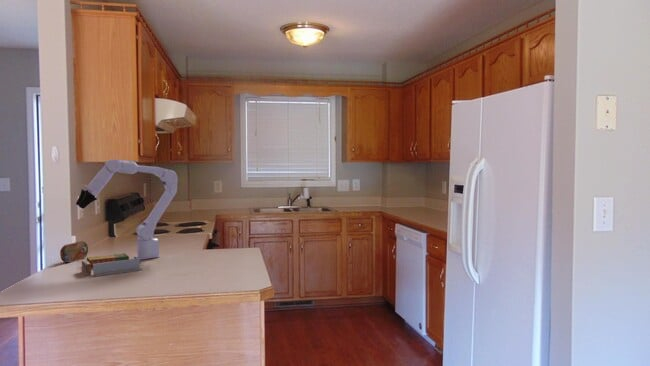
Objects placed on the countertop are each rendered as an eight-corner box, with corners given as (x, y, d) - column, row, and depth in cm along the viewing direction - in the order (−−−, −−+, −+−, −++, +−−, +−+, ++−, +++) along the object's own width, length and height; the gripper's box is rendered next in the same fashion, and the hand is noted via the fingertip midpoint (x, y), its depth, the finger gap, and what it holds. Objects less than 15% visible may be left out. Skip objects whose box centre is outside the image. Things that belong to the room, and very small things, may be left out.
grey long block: (139, 268, 195) (139, 258, 195) (141, 269, 192) (141, 259, 192) (93, 275, 184) (93, 264, 184) (95, 276, 181) (94, 265, 181)
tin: (65, 264, 203) (64, 245, 203) (59, 264, 204) (58, 245, 203) (88, 257, 218) (88, 239, 217) (83, 257, 218) (82, 239, 218)
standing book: (86, 271, 190) (86, 259, 190) (91, 275, 183) (90, 263, 183) (82, 271, 189) (81, 260, 189) (86, 276, 182) (85, 264, 182)
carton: (86, 266, 201) (86, 256, 201) (125, 261, 210) (125, 252, 210) (89, 269, 194) (89, 259, 194) (129, 264, 203) (129, 255, 203)
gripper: (88, 175, 208) (68, 199, 204) (94, 177, 197) (73, 203, 193) (102, 184, 212) (82, 207, 208) (108, 187, 200) (88, 212, 196)
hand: (79, 206), depth 201 cm, fingers open, 7 cm apart
